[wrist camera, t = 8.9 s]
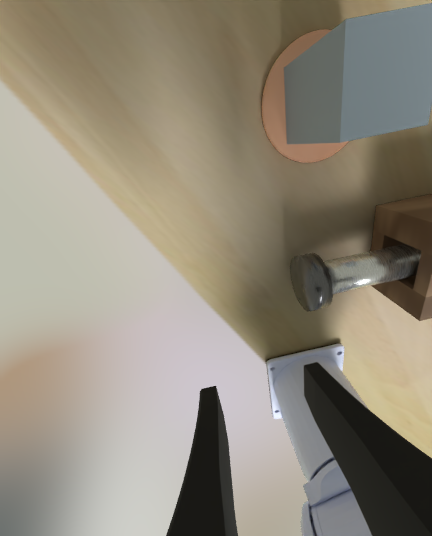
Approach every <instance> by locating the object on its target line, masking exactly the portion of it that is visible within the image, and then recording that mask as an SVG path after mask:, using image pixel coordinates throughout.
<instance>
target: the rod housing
mask: <svg viewBox="0 0 432 536" xmlns="http://www.w3.org/2000/svg"><path fill="white" fill-rule="evenodd" d="M402 244H407V245H409V246H411V247H414V248H416V249H418V250H421V251H422V252H421V257H420V261H419V266H418V270H417V274H416V276H412V277H407V278H403V279H398V280H394V281H389V282H385V283H380V284H376V285H371V286H372V287H374V288H375V289H376V290H378V291H379V292H381V293H382V294H383V295H385V296H386V297H387V298H389V299H390V300H392V301H393V302H394V303H396V304H397V305H398V306H400V307H401V308H403V309H404V310H405V311H407V312H408V313H409V314H411V315H412V316H414V317H415V318H416V319H418V320H419V321H421V320H426V319H430V318H432V194H428V195H424V196H419V197H414V198H410V199H405V200H400V201H395V202H391V203H386V204H381V205H377V206H376V212H375V220H374V228H373V236H372V245H371V251H374V250H379V249H383V248H388V247H393V246H397V245H402Z"/></svg>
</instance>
